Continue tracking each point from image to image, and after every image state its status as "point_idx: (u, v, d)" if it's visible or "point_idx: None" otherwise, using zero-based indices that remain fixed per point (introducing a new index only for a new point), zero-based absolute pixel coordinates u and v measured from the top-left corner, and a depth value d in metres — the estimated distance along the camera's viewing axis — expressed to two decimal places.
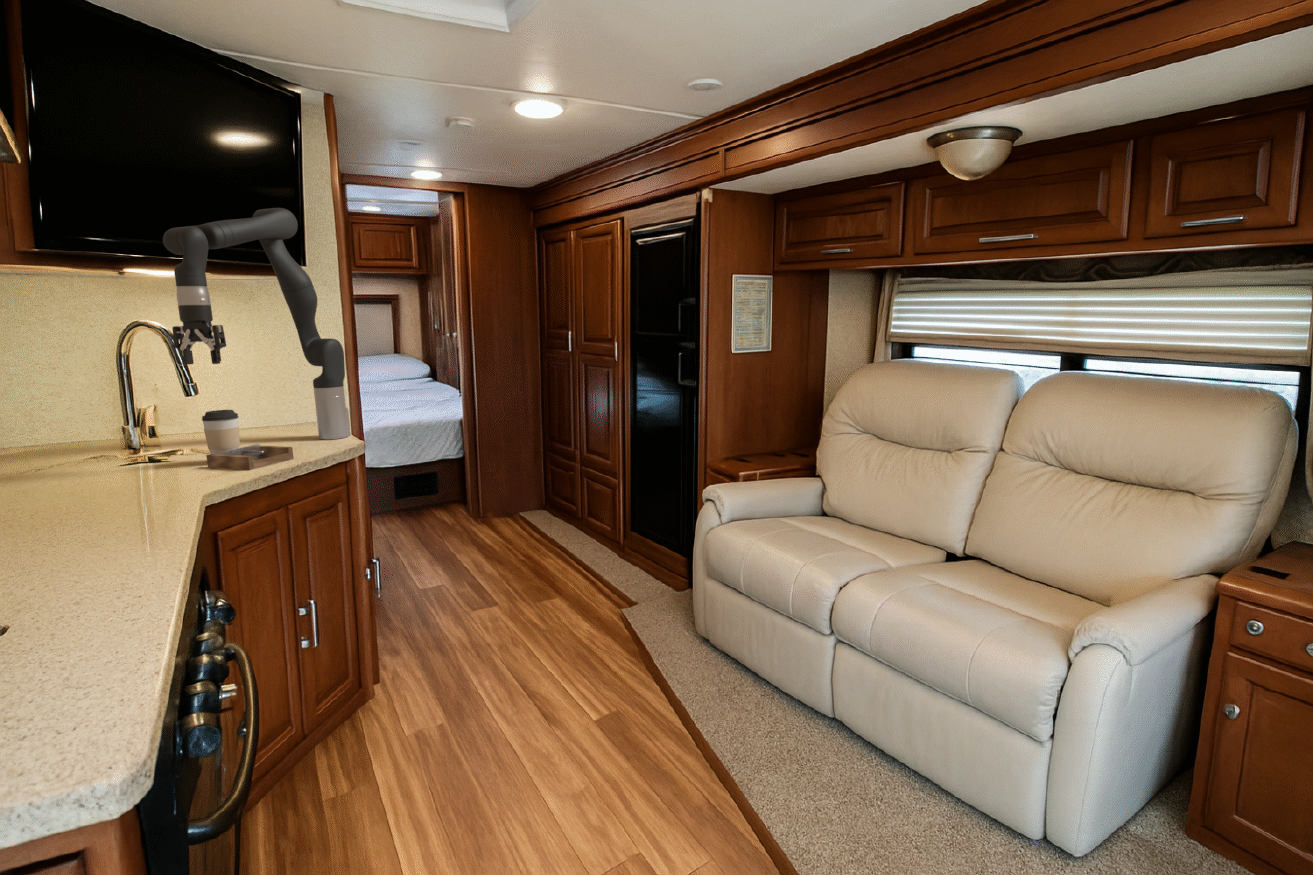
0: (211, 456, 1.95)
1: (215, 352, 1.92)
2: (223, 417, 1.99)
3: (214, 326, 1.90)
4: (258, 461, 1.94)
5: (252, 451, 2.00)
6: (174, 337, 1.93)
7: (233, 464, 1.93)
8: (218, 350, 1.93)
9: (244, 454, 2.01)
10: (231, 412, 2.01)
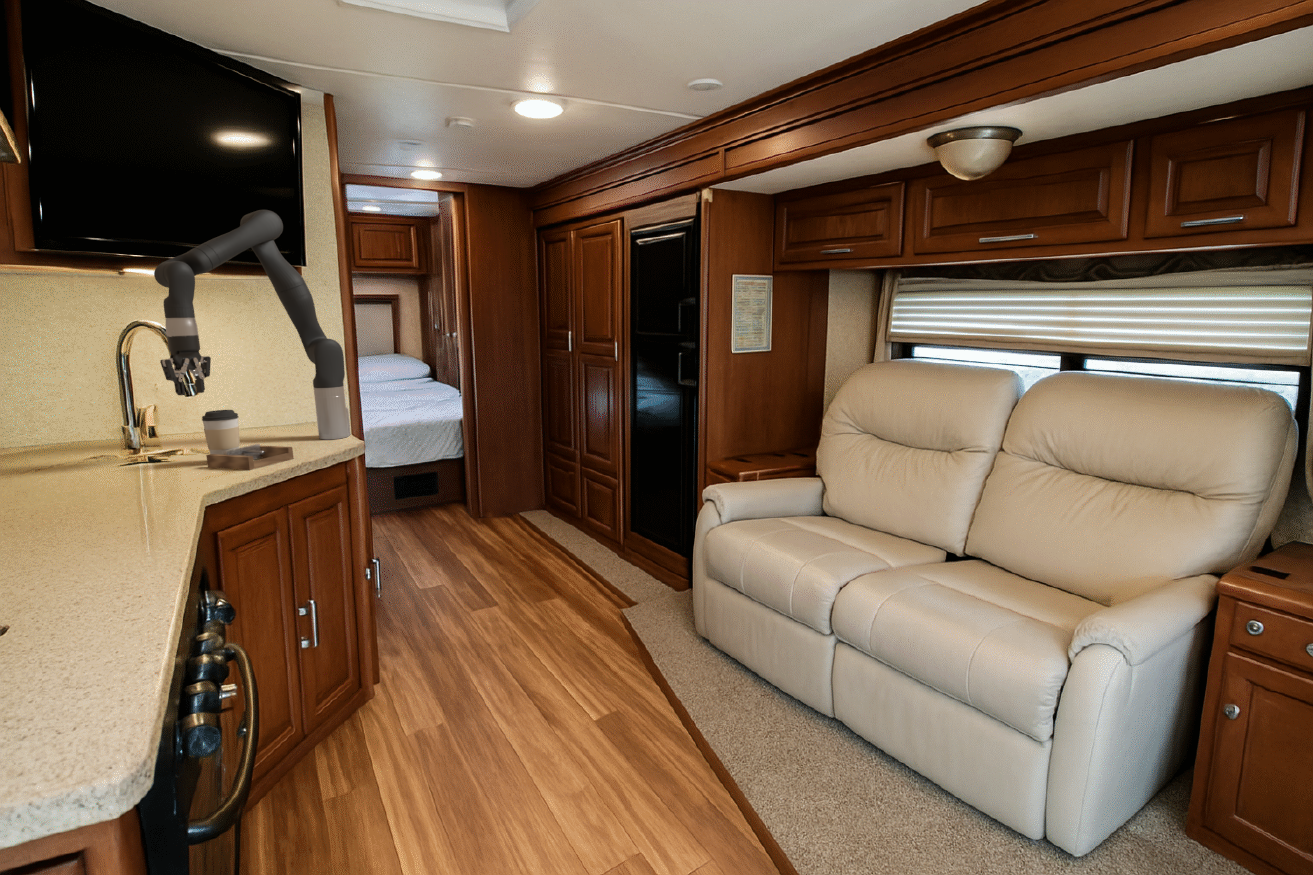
0: (211, 456, 1.95)
1: (203, 381, 2.06)
2: (223, 417, 1.99)
3: (209, 357, 2.07)
4: (258, 461, 1.94)
5: (252, 451, 2.00)
6: (170, 370, 1.96)
7: (233, 464, 1.93)
8: None
9: (244, 454, 2.01)
10: (231, 412, 2.01)
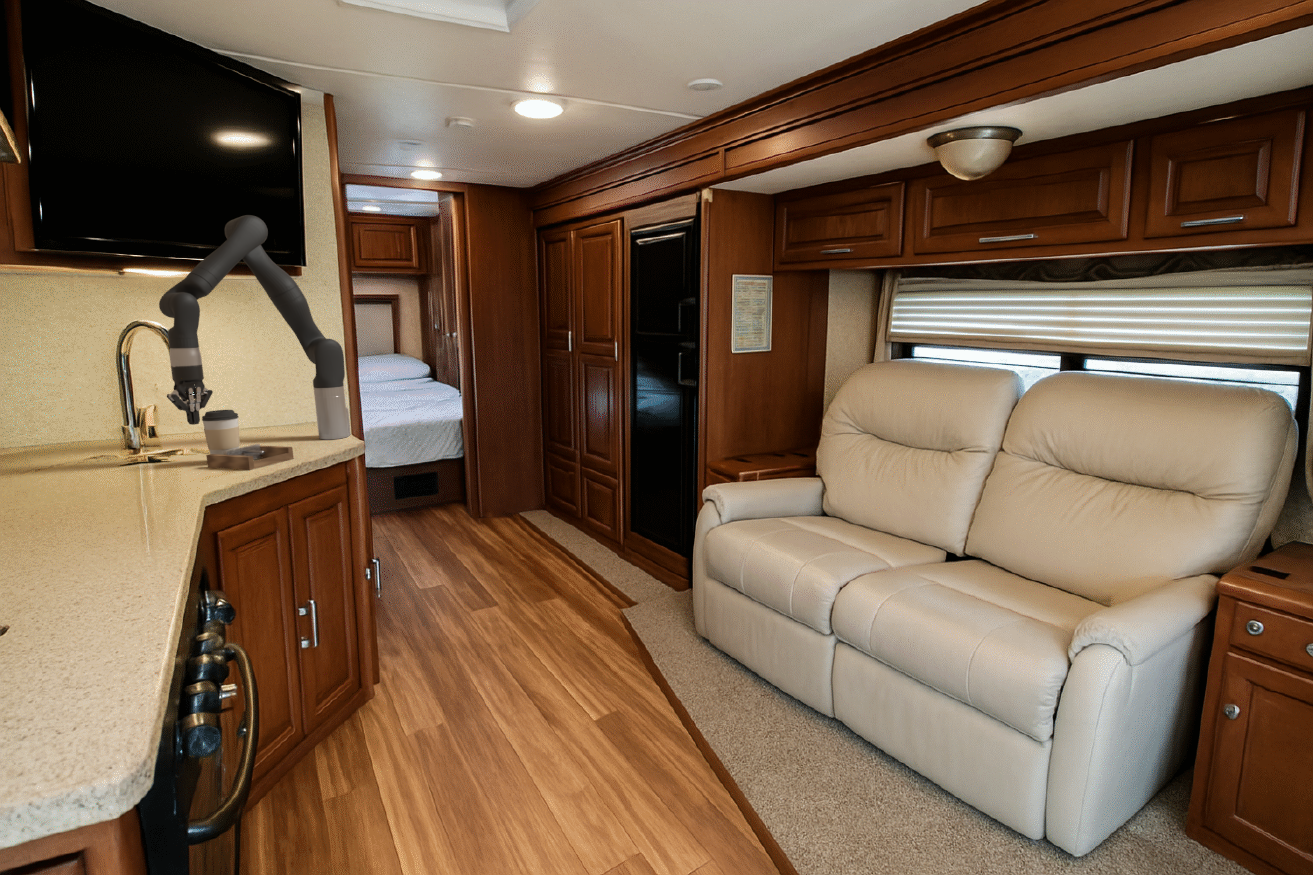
0: (211, 456, 1.95)
1: (198, 413, 2.06)
2: (223, 417, 1.99)
3: (211, 391, 2.09)
4: (258, 461, 1.94)
5: (252, 451, 2.00)
6: (180, 402, 2.00)
7: (233, 464, 1.93)
8: None
9: (244, 454, 2.01)
10: (231, 412, 2.01)
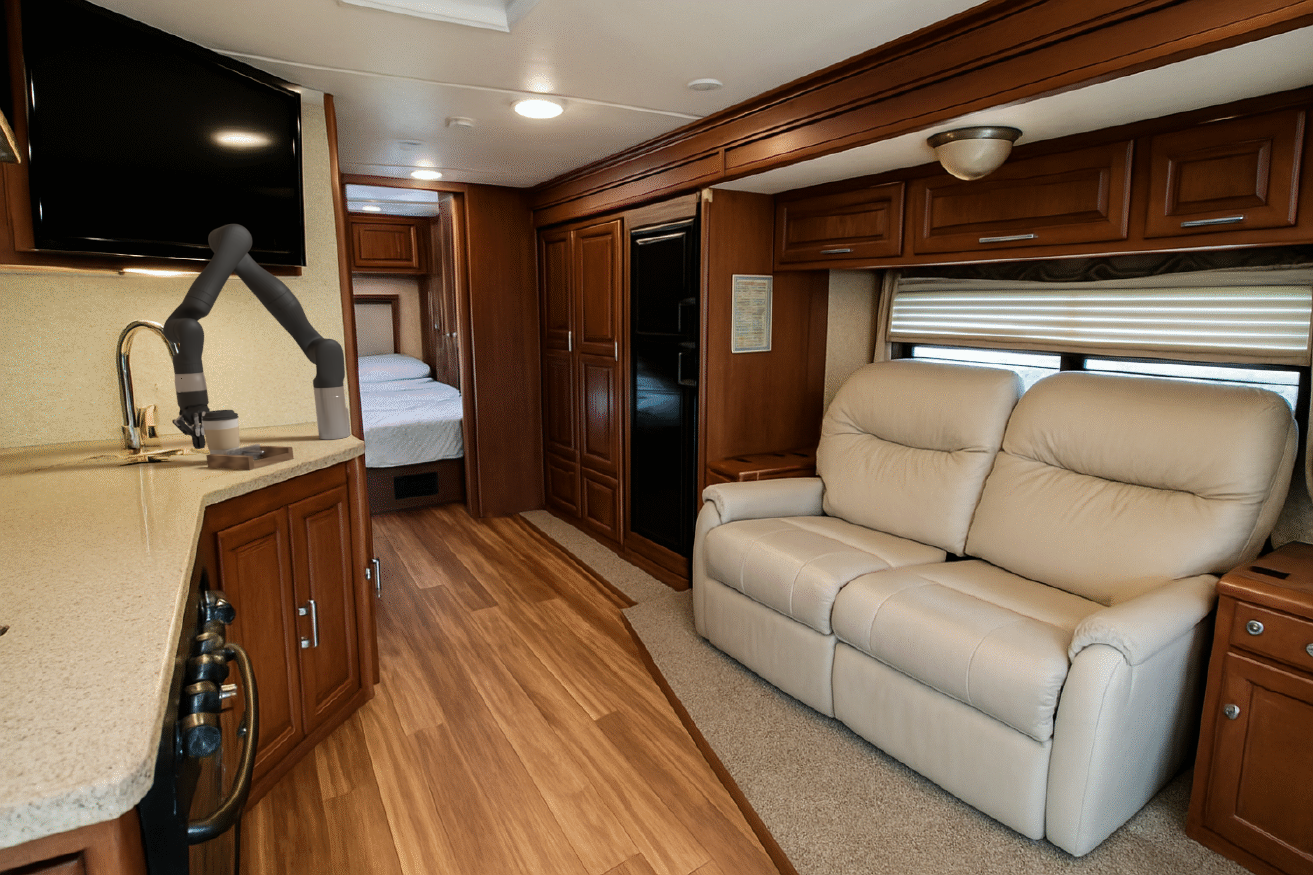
0: (211, 456, 1.95)
1: (203, 437, 2.07)
2: (223, 417, 1.99)
3: None
4: (258, 461, 1.94)
5: (252, 451, 2.00)
6: (185, 428, 2.01)
7: (233, 464, 1.93)
8: None
9: (244, 454, 2.01)
10: (231, 412, 2.01)
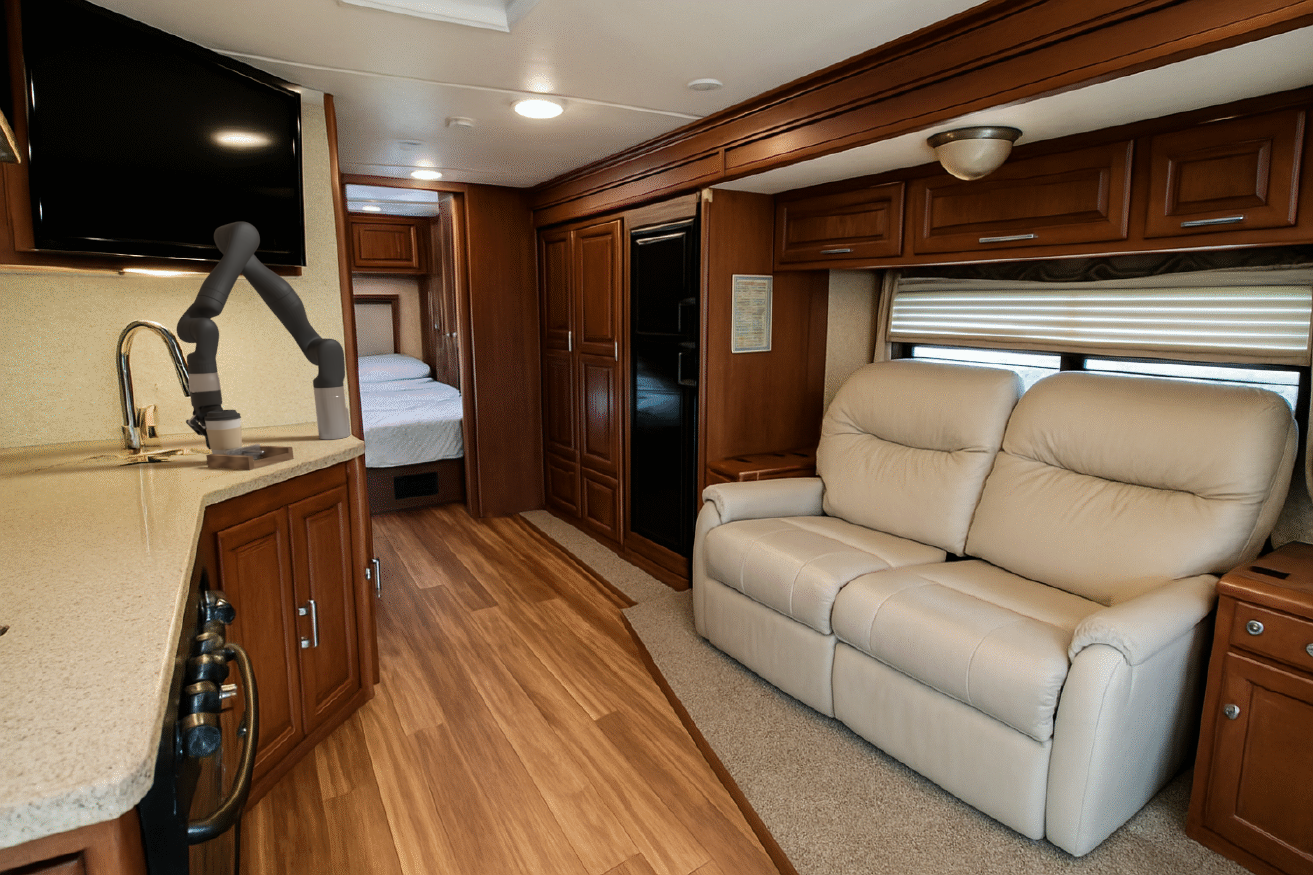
0: (211, 456, 1.95)
1: None
2: (225, 417, 1.98)
3: None
4: (258, 461, 1.94)
5: (252, 451, 2.00)
6: (199, 428, 1.99)
7: (233, 464, 1.93)
8: None
9: (244, 454, 2.01)
10: (233, 412, 2.01)
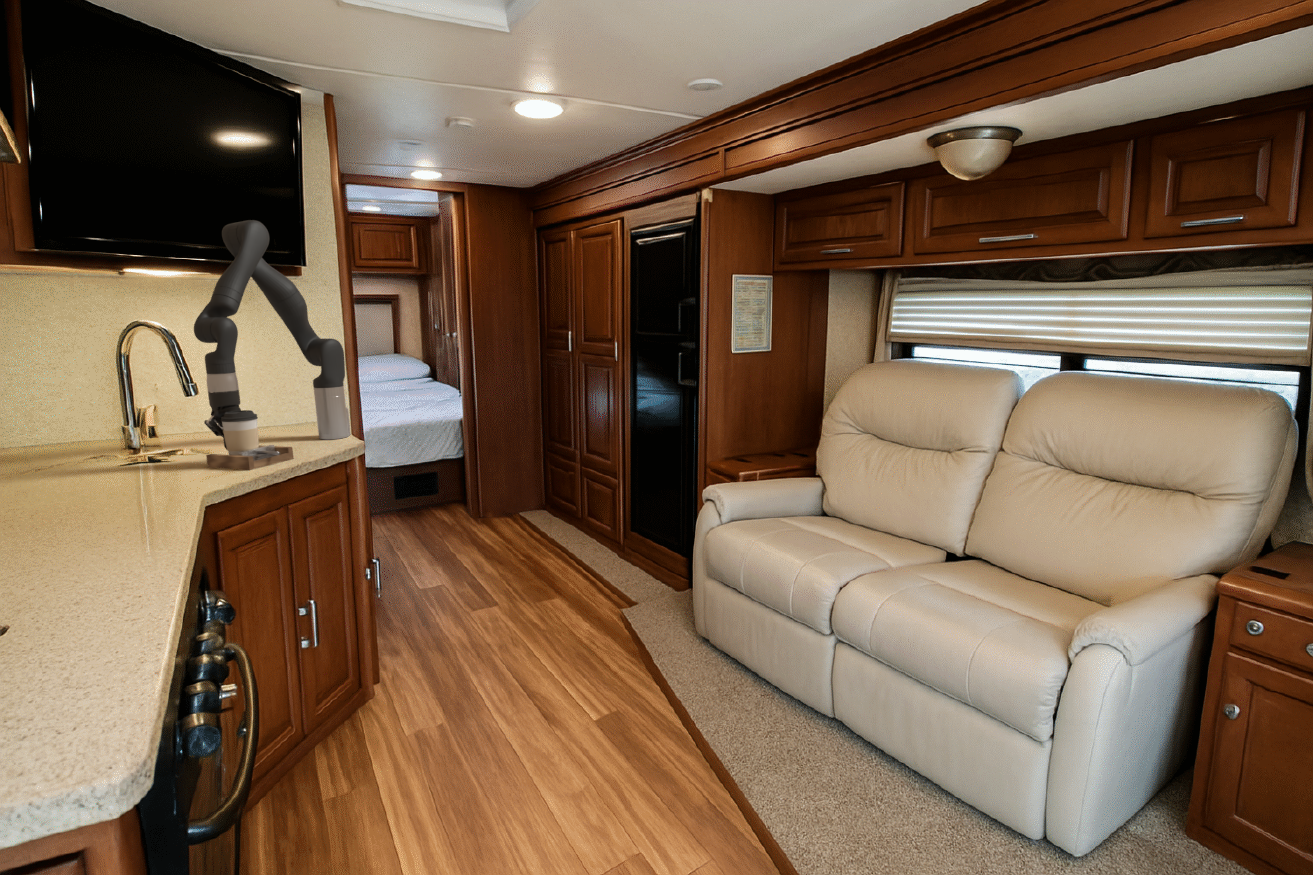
0: (211, 456, 1.95)
1: None
2: (240, 418, 1.95)
3: None
4: (258, 461, 1.94)
5: (267, 452, 1.98)
6: (217, 429, 1.97)
7: (233, 464, 1.93)
8: None
9: (259, 455, 2.00)
10: (249, 413, 1.98)
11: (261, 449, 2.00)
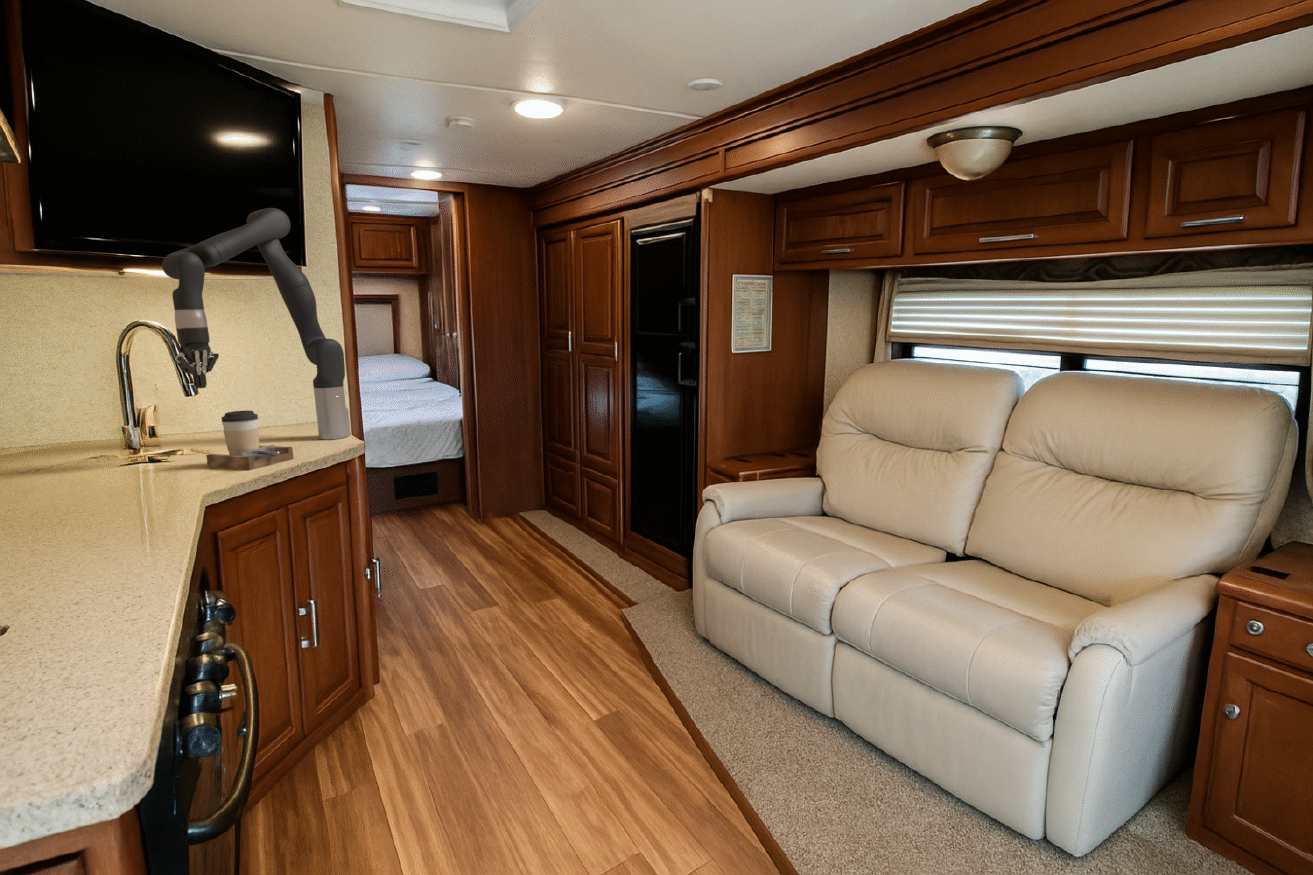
0: (211, 456, 1.95)
1: (204, 376, 2.02)
2: (241, 418, 1.95)
3: (217, 355, 2.05)
4: (258, 461, 1.94)
5: (267, 452, 1.98)
6: (186, 365, 1.96)
7: (233, 464, 1.93)
8: None
9: (259, 455, 2.00)
10: (250, 413, 1.98)
11: (262, 449, 2.00)
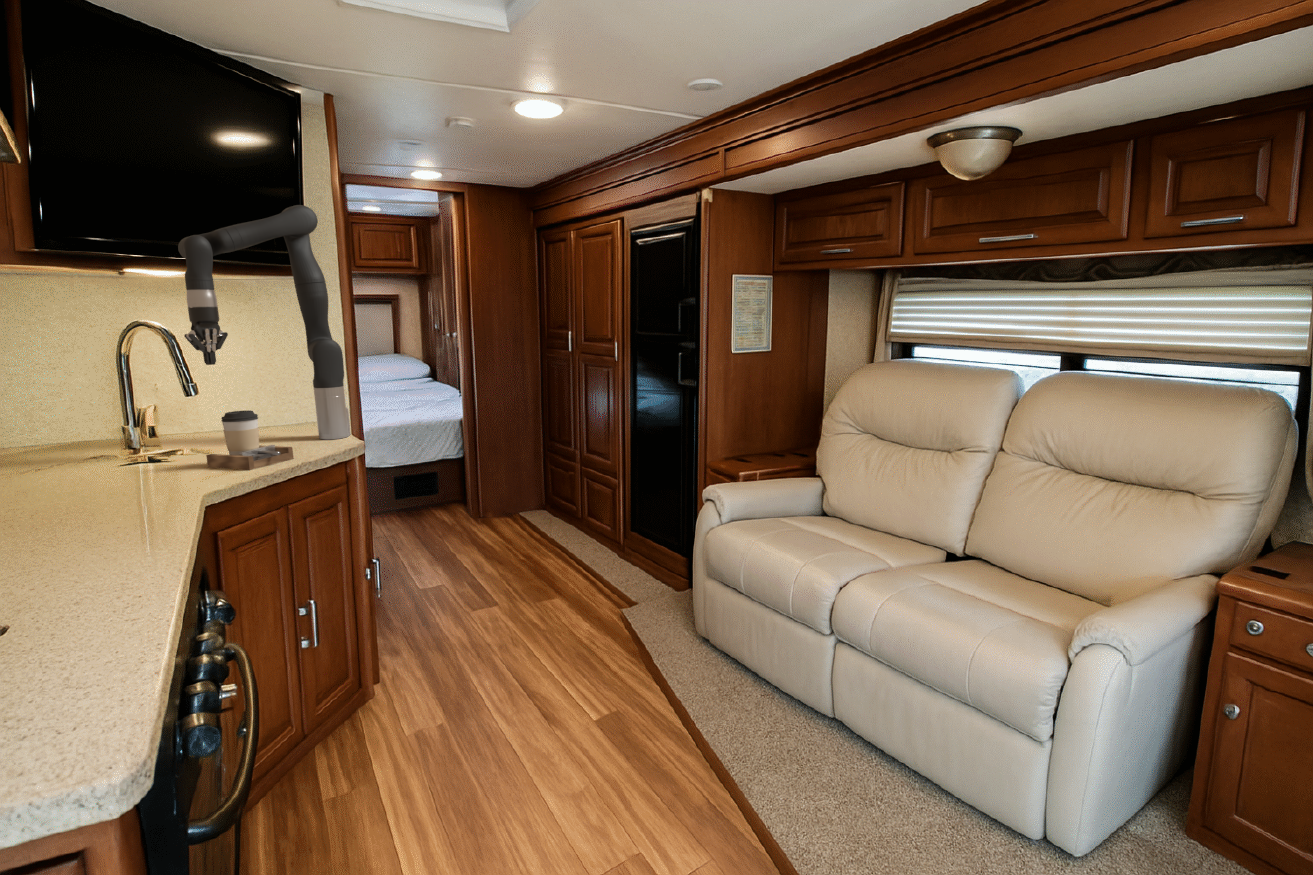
0: (211, 456, 1.95)
1: (214, 354, 2.13)
2: (241, 418, 1.95)
3: (226, 333, 2.16)
4: (258, 461, 1.94)
5: (267, 452, 1.98)
6: (197, 342, 2.07)
7: (233, 464, 1.93)
8: None
9: (259, 455, 2.00)
10: (250, 413, 1.98)
11: (262, 449, 2.00)
